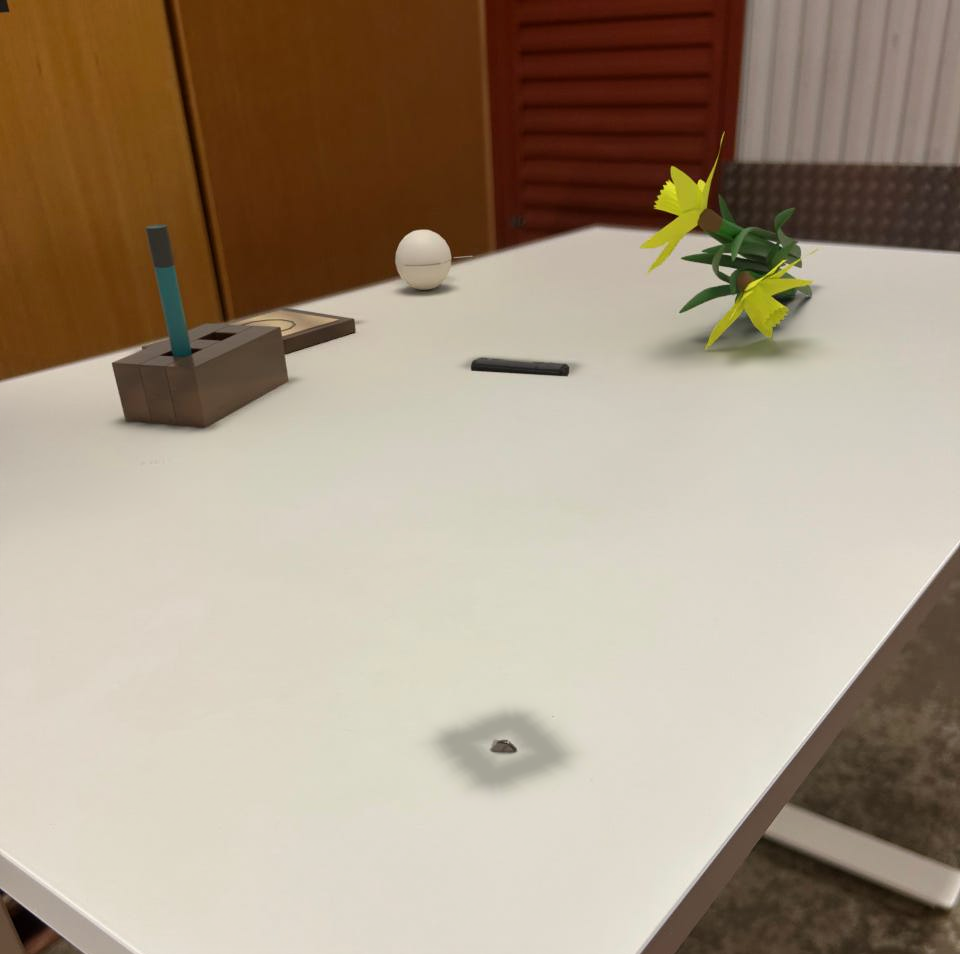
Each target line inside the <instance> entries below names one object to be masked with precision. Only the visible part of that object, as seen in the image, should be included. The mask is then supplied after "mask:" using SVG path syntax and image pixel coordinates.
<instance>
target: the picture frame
mask: <svg viewBox="0 0 960 954" xmlns="http://www.w3.org/2000/svg"><path fill="white" fill-rule="evenodd" d="M225 324H230V325H249V326H272V327H281V333H282V340H283V346H284V353H285V355H287V354H290V353H292V352H296V351H299V350H302V348H303V349H306V348H309V347H312V346H315V345H318V343H319V344H321V342H322V343H324V341H325V342H328V341H331V340H334V338H335V339H338V338H341V337H344V336H348V335H351V334H353V332H354V333H356V332H357V331H356V330H357V329H356V321H355V318H352V317H347V316H339V315H333V314H327V313H321V312H314V311H308V310H302V309H295V308H290V307H282V308H278V309H273V310H270V311H266V312H263V313H259V314H256V315H252V316H249V317H244V318H241V319H237V320H234V321H230V322H226V323H225ZM350 333H351V334H350ZM337 337H338V338H337ZM165 340H166V339H164V340H161V341H156V342H152V343H149V344H145V345H142V346H141V350H143V349H146V348H148V347H151V346H153V345H155V344H158V343H160V342H163V341H165ZM286 353H287V354H286Z"/></svg>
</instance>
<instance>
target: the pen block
mask: <svg viewBox="0 0 960 954" xmlns="http://www.w3.org/2000/svg"><path fill="white" fill-rule="evenodd" d="M187 331H188V336H189V341H190V346H191V351H192V354H191V355H189V356H187V357H174V356H173V355H172V350H171V345H170V340H169V338H167V339H164V340H165V341H164V340H162V341H163V342H160V341H159V342H160V343H158V344H155V345H153V346H151V347H148V348H146V349H143V350H142V349H141V350H139V351H136V352H133V353H132V354H129V355H127V356H124V357H123V358H120V359H117V360H115V361H112V362H111V366H112V371H113V375H114V379H115V384H116V387H117V391H118V395H119V396H118V397H119V400H120V405H121V408H122V412H123V413H122V414H123V416H124V420H125V421H124V422H131V423H140V424H141V423H142V424H154V425H164V426H165V425H166V426H175V427H177V426H178V427H186V428H187V427H189V428H199V429H206V428H208V427H210V426H212V425H214V424H215V423H217V422H219V421H221V420H222V419H224V418H226V417H228V416H230V415H231V414H234V413H235V412H237V411H239V410H240V409H242V408H244V407H245V406H248V405H250V404H251V403H253V402H255V401H256V400H258V399H260V398H261V397H264V396H265V395H267V394H269V393H270V392H272V391H274V390H276V389H277V388H280V387H281V386H283V385H285V384H286V383H288V382H289V381H290V380H289V373H288V368H287V367H288V366H287V360H286V354H285V353H284V346H283V340H282V333H281V327H272V326H249V325H230V324H226V323H209V322H208V323H206V322H205V323H203V324H201V325H198V326H196V327H194V328H192V329H189V330H187Z"/></svg>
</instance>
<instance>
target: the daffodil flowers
mask: <svg viewBox="0 0 960 954" xmlns="http://www.w3.org/2000/svg"><path fill="white" fill-rule="evenodd" d="M724 136H725V131H723V133H722V136H721V139H720V145H719V148H721V147H722V143H723V139H724ZM720 152H721V150H719V151H718V153H720ZM719 155H720V154H718V155H717V158H716V159H715V162H714V165H713V167H712V169H711V171H710V173H709V175H708V178H707V179H706V182H705V181H704V180H702V179H699V180H697V181H698V182H697V183H696V182H695V181H694V180H693V179H692V178H691V177H690V176H689V175H688V174H686V173H685V172H683V170H680V169H679V168H677V167H676V166H673V165H671V166H670V177H671V180H672V181H671V180H670V179H668V181H667V180H666V181H665V183H666V184H663V185H662V186H663V189H660V190H659V191H660V192H659V193H660V194H659V195H656V197H657V200H654V203H655V205H653V209H654V210H659V211H663V212H667V213H670V214H673V215H676V216H677V217H676V218H675V219H674V220H672V221H671V222H669V223H668V224H667V225H665V226H664V227H662V228H661V229H660V230H659V231H657V232H656V233H655V234H653V235H652V236H651V237H650V238H648V239H647V240H646V241H644V242H643V243H642V244H641V245H640V246H639V248H640V249H657V248H660V247H662V246H664V245H665V246H664V248H663V249H662V250H661V252H660V253H659V254H658V256H657V258H656V259H655V260H654V262H652V264H651V265H650V267H649V268H648V271H647V272H646V274H645V276H647V275H648V274H649V273H651V272H652V271H653V270H655V269H657V268H658V267H659V266H661V265H663V263H664V262H665V261H667V259H668V258H669V257H670V256H671V255H672V253H673V252H674V250H675V249H676V247H677V246H678V244H679V243H680V241H681V240H683V238H684V237H685V236H686V235H687V233H689V232H690V231H692V230H693V229H694V228H696V227H697V226H698V227H700V228H701V230H702V231H704V232H705V233H706V234H707V235H708V236H710V237H711V238H712V239H714V240H715V241H716V242H718V243H719V244H717V245H714V246H711V247H707V248H705V249H702V250H701V252H702V253H701V252H700V253H695V254H690V255H684V256H682V257H680V259H681V260H683V261H685V262H686V261H687V262H691V263H696V264H703V265H711V268H712V271H713V273H714V275H715V276H716V277H717V278H718V279H719V280H720V281H722V282H725V283H727V284H721V285H716V286H710V287H706V288H705V289H703V290H701V291H700V292H698V293H697V294H696V295H694V296H693V297H692V298H691V299H689V300H688V301H687V303H686V304H685V305H683V307H682V308H681V309H680V310H679V311H678V313H679V314H682V313H685V312H688V311H690V310H692V309H694V308H696V307H698V306H700V305H703V304H705V303H708V302H710V301H712V300H715V299H719V298H722V297H723V298H724V297H727V296H735V295H736V296H735V298H734V303H733V305H732V306H731V308H730V309H729V310H728V311H727V313H726V314H725V315H724V316H723V317H722V318H721V319H719V321H718V322H717V323H716V324H715V327H714V328H713V330H712V331H711V332H710V334H709V338H708V339H707V343H706V345H705V348H704V351H706V350H707V349H708V348H710V347H711V346H712V345H713V344H714V343H715V342H716V341H717V340H718V339H719V338H720V337H721V335H723V333H725V331H726V330H727V329H728V328H729V327H730V326H731V325H732V324H733V323H734V322H735V321H736V320H737V319H738V318H739V317H740V316H741V314H742V312H743V311H745V312H746V314H747V316H748V317H749V319H750V321H751V323H752V325H753V326H754V327H755V328H756V329H757V330H758V331H759V332H760V333H761V334H762V335H763V336H765V337H766V338H768V339H771V338H773V332H774V331H773V328H776V326H777V325H776V324H778V325H779V324H781V320H782V321H784V320H785V316H788V314H787V313H789V308H788V306H785V305H784V304H782V303H781V302H780V301H778V300H776V299H775V298H774V297H773V296H778V295H780V296H783V297H786V298H793V297H794V296H795V295H796V294H797V292H800V293H802V294H805V295H806V296H809V297H812V296H813V291H812V288H811V286H810V285H812V284H813V283H814V282H815V281H813V280H809V279H803V278H802V279H801V278H796V277H795V276H793V275H791V273H788V271H789V270H790V269H791V268H793V267H796V268H799V269H802V268H803V261H802V260H803V259H804V258H805V257H807V256H810V255H812V254H815V252H817V251H818V250H820V247H818V248H816V249H815V250H813V251H811V252H810V253H807V254H806V255H804V256H802V248H801V247H800V245H798V243H799V241H798V240H796V239H794V238H791V237H789V236H786V235H785V233H784V232H783V230H782V229H781V227H782V226H783V225H785V223H786V222H787V220H788V219H789V218H790V217H791V216H792V214H793V213H794V212H795V210H796V207H790V208H787V209H784V210H783V211H782V212H779V213H778V214H777V215H775V218H774V223H773V224H774V225H773V226H774V229H775V230H774V232H773V231H770V230H765V229H763V228H760V227H757V226H749V227H745V228H743V227H741V226H740V225H737V223H736V221H735V220H734V218H733V216H732V214H731V212H730V210H729V208H728V206H727V204H726V202H725V200H724V198H723V197H722V195H721V194H718V196H717V197H718V204H719V209H720V214H721V216H720V215H719V214H718V213H716V212H715V211H714V210H713V209H711V208H708V200H709V193H710V188H711V184H712V180H713V177H714V173H715V170H716V166H717V163H718V160H719ZM739 256H741V257H739ZM720 267H723V268H730V269H735V270H733V272H731V274H730V275H728V274H726V273H724V272H722V271H720ZM782 267H784V268H782Z"/></svg>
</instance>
